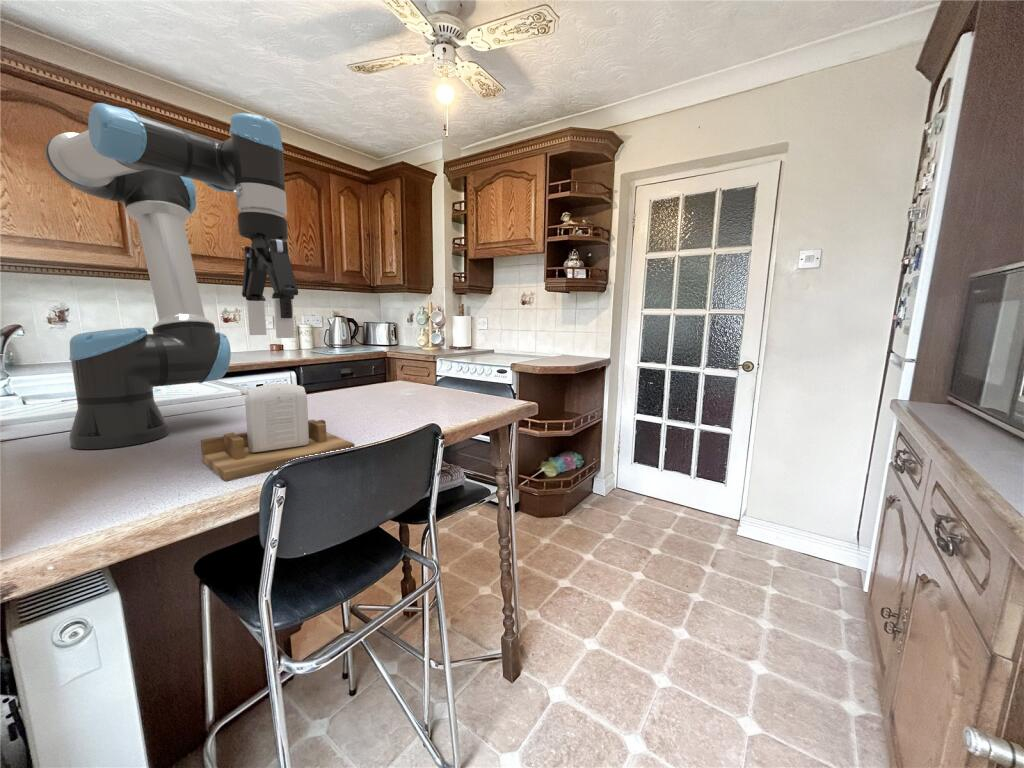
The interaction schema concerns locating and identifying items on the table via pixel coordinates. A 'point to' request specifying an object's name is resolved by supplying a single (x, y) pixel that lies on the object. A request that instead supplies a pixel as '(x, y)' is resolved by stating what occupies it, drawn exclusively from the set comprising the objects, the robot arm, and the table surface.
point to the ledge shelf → (263, 452)
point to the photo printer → (276, 417)
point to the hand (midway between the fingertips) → (271, 336)
